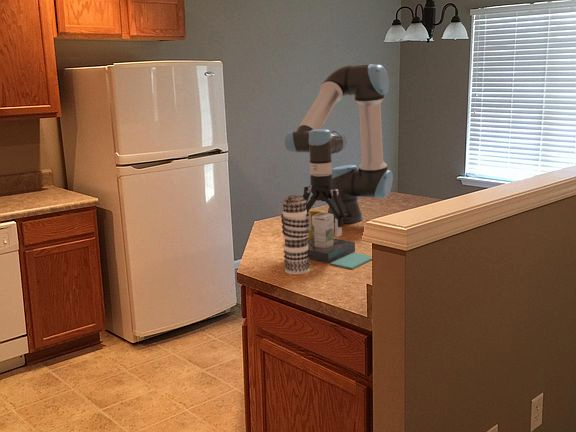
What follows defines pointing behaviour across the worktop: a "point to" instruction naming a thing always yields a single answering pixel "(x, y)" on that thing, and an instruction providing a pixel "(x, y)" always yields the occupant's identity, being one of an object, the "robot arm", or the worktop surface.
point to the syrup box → (323, 230)
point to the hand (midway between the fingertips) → (323, 233)
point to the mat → (352, 261)
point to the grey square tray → (330, 250)
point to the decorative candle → (295, 235)
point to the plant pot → (311, 223)
